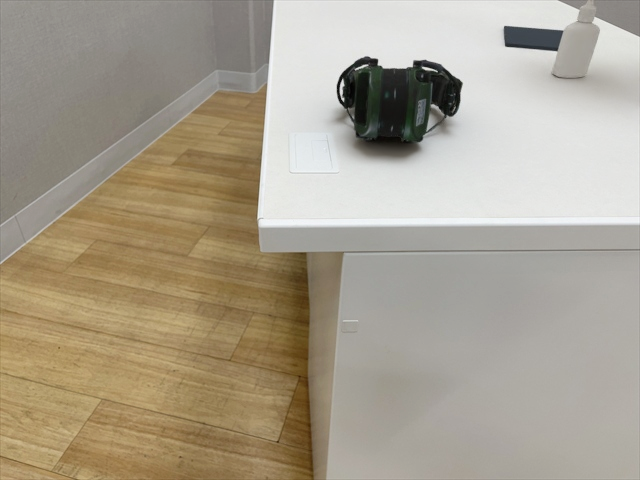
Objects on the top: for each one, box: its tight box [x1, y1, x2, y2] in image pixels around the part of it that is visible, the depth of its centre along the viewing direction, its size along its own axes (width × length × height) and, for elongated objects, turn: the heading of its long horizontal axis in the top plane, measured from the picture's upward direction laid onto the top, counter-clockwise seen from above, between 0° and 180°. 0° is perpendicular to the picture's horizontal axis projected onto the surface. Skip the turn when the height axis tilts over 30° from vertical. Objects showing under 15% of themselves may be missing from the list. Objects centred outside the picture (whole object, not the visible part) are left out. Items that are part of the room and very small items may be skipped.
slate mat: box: [503, 25, 564, 52], centre depth 105 cm, size 14×16×1 cm
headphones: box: [336, 55, 464, 144], centre depth 64 cm, size 13×13×20 cm
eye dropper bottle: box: [551, 0, 601, 79], centre depth 82 cm, size 4×6×12 cm
